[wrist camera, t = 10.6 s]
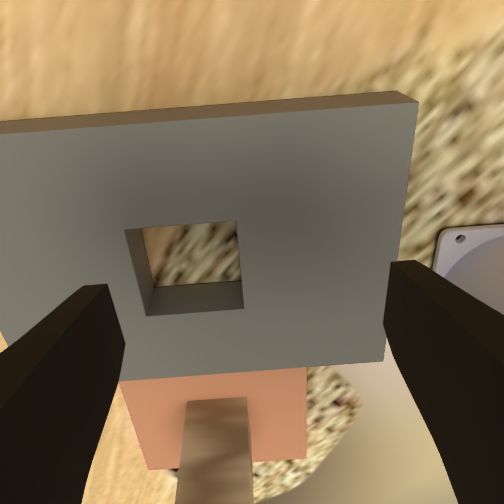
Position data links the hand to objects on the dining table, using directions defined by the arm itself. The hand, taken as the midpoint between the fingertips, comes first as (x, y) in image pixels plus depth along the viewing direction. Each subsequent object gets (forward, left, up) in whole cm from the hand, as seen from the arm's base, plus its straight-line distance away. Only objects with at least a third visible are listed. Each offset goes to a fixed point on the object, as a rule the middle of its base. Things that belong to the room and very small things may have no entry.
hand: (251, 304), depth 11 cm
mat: (+3, +18, -10) cm, 21 cm away
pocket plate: (+3, +4, -10) cm, 12 cm away
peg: (+3, +18, -10) cm, 20 cm away
